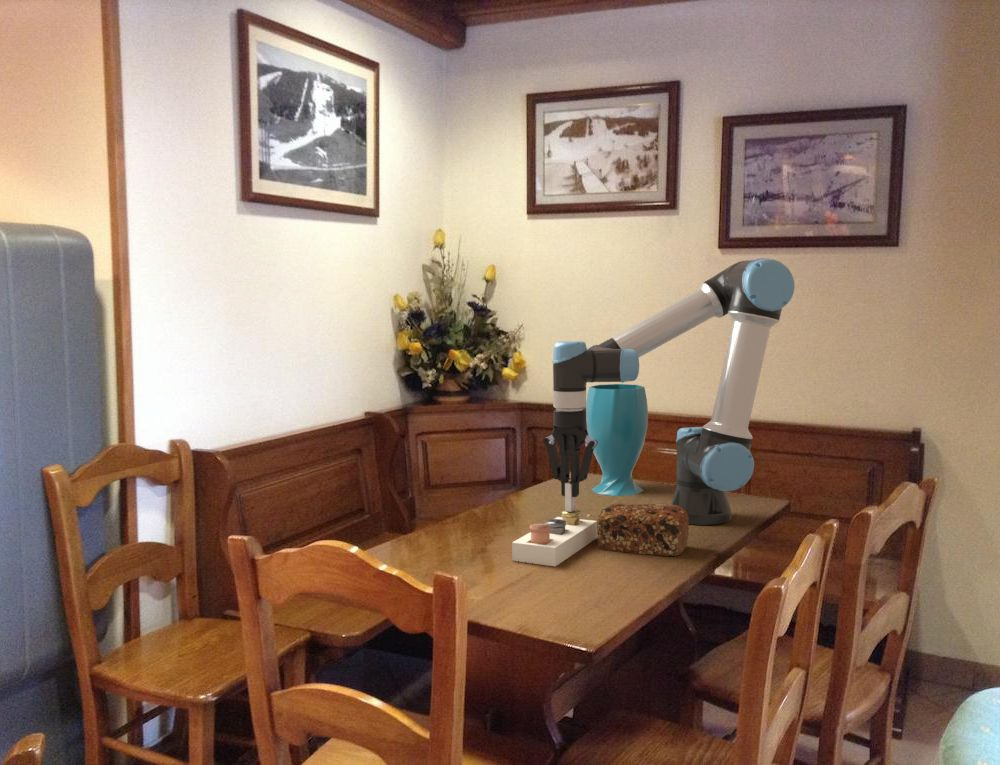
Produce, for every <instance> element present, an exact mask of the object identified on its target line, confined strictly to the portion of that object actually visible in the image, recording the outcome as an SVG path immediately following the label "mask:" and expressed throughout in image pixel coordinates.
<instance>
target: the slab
mask: <svg viewBox="0 0 1000 765" xmlns="http://www.w3.org/2000/svg"><path fill="white" fill-rule="evenodd" d="M553 519H562V516H556V517H555V518H553ZM562 520H563V519H562ZM597 539H598V538H597V520H591V519H581V518H580V524H579V525H577V526H574V525H566V526H565V533H564V534H562V535H558V534H550V543H548V544H546V545H542V544H534V543H531V531H530V532H528V533H526V534H524V535H523V536H521V537H519V538H517V539H516V540H514V541H512V542H511V546H512V548H511V550H512V551H511V552H512V553H511V554H512V557H511V558H512V559H511V560H512V562H518V561H519V562H520V563H525V562H526V563H528V564H532V563H533V564H534V565H539V566H541V565H542V566H548V567H549V566H550V567H557V566H559V565H560V564H562V563H563V562H565V560H567V559H568V558H570V557H571V556H573V555H575V554H576V553H577V552H579V551H580V550H582V549H583V548H585V547H586V546H587V545H589V544H590V543H592V542H593V541H595V540H597ZM519 562H518V563H519ZM526 563H525V564H526Z"/></svg>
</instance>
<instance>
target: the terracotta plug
mask: <svg viewBox="0 0 1000 765" xmlns="http://www.w3.org/2000/svg"><path fill="white" fill-rule="evenodd" d="M529 531H530V532H531V543H534V544H542V545H546V544H548V543H550V525H548V524H546V523H534V524H530V525H529Z"/></svg>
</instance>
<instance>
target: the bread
mask: <svg viewBox="0 0 1000 765" xmlns="http://www.w3.org/2000/svg"><path fill="white" fill-rule="evenodd" d="M596 521H597V538H596V540H597V543H598V548H599V550H602V551H607V550H608V551H614V552H622V553H633V554H641V555H642V554H643V555H653V556H665V557H669V556H673V557H677V556H679V555H681V554H682V553H683V552H684V551H685V550H686V548H687V547H688V540H689V530H690V527H689V526H690V525H689V518H688V514H687V510H686V509H685V508H683V507H681V506H678V505H671V504H668V503H665V504H660V503H659V504H655V503H639V504H638V503H613V504H610V505H608V506H607V507H604V508H603V509H602V510H601V511H600V514H599V515H598V518H597V519H596Z"/></svg>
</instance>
